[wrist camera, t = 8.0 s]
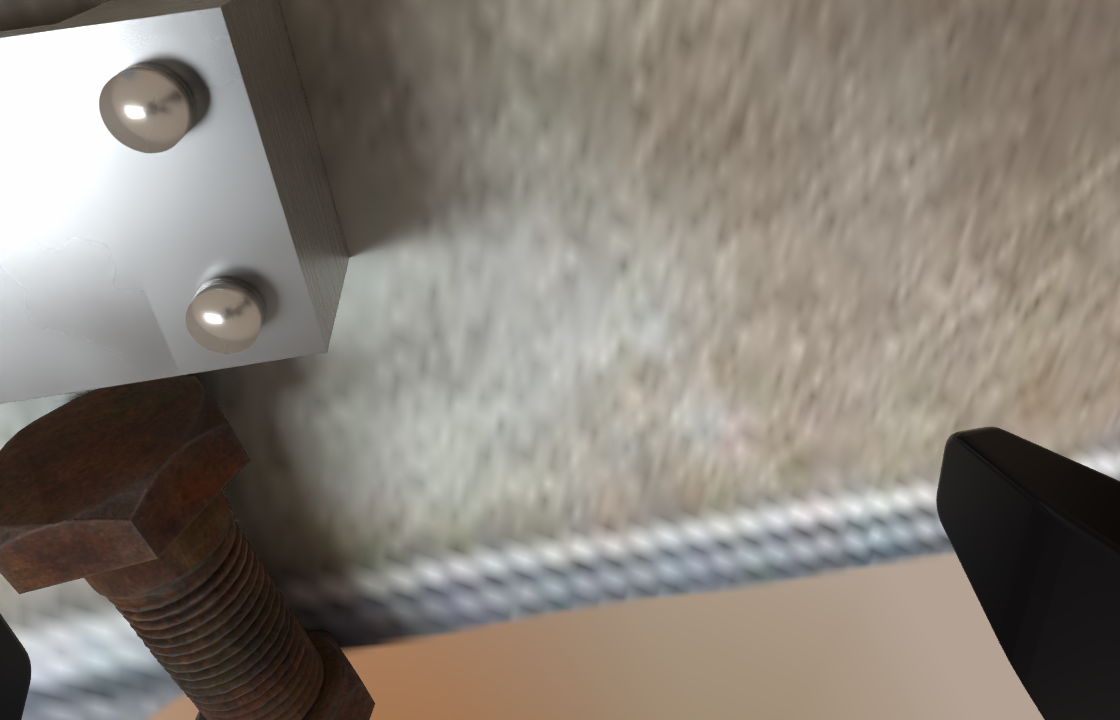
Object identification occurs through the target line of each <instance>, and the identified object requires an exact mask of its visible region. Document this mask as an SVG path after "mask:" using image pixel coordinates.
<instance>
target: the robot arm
mask: <svg viewBox="0 0 1120 720" xmlns="http://www.w3.org/2000/svg"><path fill="white" fill-rule="evenodd" d="M936 502H937V511H938V515H939V518H940V521H941V523H942V526H943V528H944V530H945V532H946V534H947V536H948V538H949V540H950V542H951V544H952V546H953V548H954V550H955V552H956V554H957V556H958V558H959V561H960V563H961V565H962V567H963V569H964V571H965V573H966V575H967V577H968V579H969V581H970V583H971V585H972V587H973V589H974V591H975V593H976V596H977V597H978V600H979V602H980V604H981V606H982V608H983V610H984V612H985V614H986V616H987V618H988V620H989V622H990V624H991V626H992V628H993V630H994V632H995V635H996V637H997V639H998V641H999V643H1000V645H1001V646H1002V648H1003V650H1004V652H1005V654H1006V656H1007V658H1008V660H1009V662H1010V663H1011V665H1012V667H1013V669H1014V670H1015V672H1016V674H1017V676H1018V677H1019V679H1020V680H1021V682H1022V684H1023V686H1024V687H1025V689H1026V690H1027V692H1028V694H1029V695H1030V697H1031V699H1032V700H1033V702H1034V703H1035V705H1036V706H1037V708H1038V710H1039V711H1040V713H1041V715H1042V716H1043V718H1044V719H1045V720H1120V481H1118V480H1116V479H1114V478H1112V477H1109V476H1107V475H1105V474H1102V473H1100V472H1098V471H1096V470H1093V469H1091V468H1089V467H1087V466H1084V465H1082V464H1080V463H1077V462H1075V461H1073V460H1071V459H1068V458H1066V457H1064V456H1062V455H1059V454H1057V453H1055V452H1053V451H1050V450H1048V449H1046V448H1043V447H1041V446H1039V445H1037V444H1034V443H1032V442H1030V441H1028V440H1025V439H1023V438H1021V437H1019V436H1016V435H1014V434H1012V433H1009V432H1007V431H1005V430H1002V429H1000V428H997V427H983V428H977V429H971V430H966V431H960V432H956V433H954V434H952V435H951V436H950V437H949V438H948V440H947V442H946V445H945V449H944V455H943V461H942V467H941V473H940V479H939V485H938V490H937V499H936ZM30 680H31V664H30V659H29V656H28V654H27V652H26V650H25V648H24V647H23V646H22V644H21V643H20V641H19V640H18V638H17V637H16V635H15V634H14V633H13V631H12V630H11V628H10V627H9V625H8V624H7V622H6V621H5V620H4V618H3V617H2V615H1V614H0V720H21V719H22V714H23V710H24V706H25V702H26V698H27V694H28V690H29V685H30Z"/></svg>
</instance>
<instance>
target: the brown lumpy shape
mask: <svg viewBox="0 0 1120 720" xmlns="http://www.w3.org/2000/svg"><path fill="white" fill-rule="evenodd" d="M249 460H250V459H249V457H248V455H247V453H246V452H245V450H244V448H243V447H242V445H241V443H240V442H239V440H238V438H237V436H236V435H235V433H234V431H233V430H232V428H231V426H230V425H229V423H228V421H227V420H226V418H225V417H224V415H223V414H222V412H221V411H220V409H219V408H218V406H217V405H216V403H215V402H214V400H213V399H212V398H211V396H210V395H209V394H208V392H207V391H206V390H205V388H204V387H203V386H202V384H201V383H200V382H199V380H198V379H197V378H196V377H195V376H192V375H180V376H174V377H168V378H161V379H155V380H149V381H142V382H136V383H130V384H123V385H117V386H111V387H104V388H98V389H96V390H94V391H92V392H89V393H87V394H85V395H83V396H80V397H78V398H76V399H74V400H72V401H70V402H68V403H66V404H64V405H63V406H61V407H59V408H57V409H55V410H53V411H52V412H50V413H48V414H46V415H44V416H42V417H41V418H39V419H37V420H35V421H34V422H32V423H31V424H29V425H28V426H26V427H25V428H23V429H22V430H20V431H19V432H18V433H17V434H15V435H14V436H13V437H12V438H11V439H10V440H9V441H8V442H7V443H6V444H5V446H4V447H3V448H2V449H1V450H0V573H1V574H2V575H3V576H4V578H5V579H6V580H7V581H8V582H9V583H10V584H11V585H12V587H13V588H14V589H15V590H16V591H17V592H18V593H19V594H21V593H25V592H29V591H33V590H37V589H41V588H45V587H49V586H53V585H57V584H60V583H64V582H68V581H72V580H76V579H80V578H85V579H86V581H87V582H88V583H89V584H90V585H91V587H92V588H93V589H94V590H95V591H96V592H98V593H99V594H100V595H103V596H105V597H107V598H108V600H109V601H110V602H112V603H113V604H114V605H115V606H116V608H117V610H118V611H119V612H120V613H121V614H122V615H123V617H124V618H125V619H126V620H127V621H128V622H129V623H130V626H131V627H132V628H133V629H134V630H135V631H136V633H137V635H138V636H139V637H140V638H141V639H142V640H143V642H144V644H145V646H146V647H148V648H149V649H150V652H151V653H152V654H153V656H154V657H155V658H156V659H157V661H158V662H159V663H160V664H161V665H162V666H163V667H164V669H165V670H166V671H167V672H168V673H169V674H170V675H171V677H172V679H173V680H174V681H175V682H176V683H177V685H178V686H179V687H180V688H181V689H182V690H183V691H184V692H185V694H186V695H187V697H189V698H190V699H191V701H192V702H193V703H194V704H195V705H196V707H197V708H198V710H199V713H198V715H197V717H196V720H369V719H370V716H371V714H372V711H373V708H374V705H375V703H374V701H373V699H372V698H371V696H370V694H369V692H368V691H367V689H366V687H365V686H364V684H363V682H362V681H361V679H360V678H359V676H358V674H357V673H356V671H355V670H354V668H353V667H352V665H351V664H350V662H349V661H348V659H347V658H346V656H345V655H344V653H343V652H342V650H341V649H340V647H339V646H338V644H337V643H336V642H335V640H334V639H333V637H332V636H331V635H330V633H329V632H322V631H305V630H304V629H303V628H302V626H301V625H300V624H299V623H298V620H297V618H296V617H295V616H294V615H293V614H292V613H291V610H290V608H289V606H288V605H287V604H286V602H285V600H284V598H283V596H282V594H281V593H280V592H279V589H278V587H277V586H276V585H275V584H274V582H273V580H272V578H271V576H270V575H269V574H268V572H267V570H266V568H265V567H264V566H263V564H262V562H261V561H260V560H259V558H258V557H257V555H256V552H255V551H254V549H253V548H252V547H251V545H250V543H249V542H248V541H247V540H246V539H245V536H244V534H243V532H242V530H241V529H240V528H239V525H238V524H237V522H236V521H235V520H234V518H233V516H232V514H231V508H230V505H229V503H228V500H227V499H226V497H225V496H224V494H223V492H222V491H221V490H222V489H223V488H224V487H225V486H226V485H227V484H228V483H229V482H230V481H231V480H232V479H233V478H234V476H235V475H236V474H237V473H238V472H239V471H240V470H241V469H242V468H243V467H244V466H245V465H246V464H247V462H248V461H249Z"/></svg>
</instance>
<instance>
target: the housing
mask: <svg viewBox="0 0 1120 720" xmlns="http://www.w3.org/2000/svg"><path fill="white" fill-rule="evenodd" d="M348 261H349V256H348V253H347V249H346V245H345V242H344V238H343V234H342V231H341V227H340V223H339V220H338V216H337V212H336V209H335V205H334V201H333V198H332V194H331V190H330V187H329V183H328V179H327V176H326V172H325V168H324V165H323V161H322V157H321V154H320V150H319V146H318V143H317V139H316V135H315V132H314V128H313V124H312V121H311V117H310V113H309V110H308V106H307V102H306V99H305V95H304V91H303V88H302V84H301V80H300V77H299V73H298V69H297V66H296V62H295V58H294V55H293V51H292V47H291V44H290V40H289V36H288V33H287V29H286V25H285V22H284V18H283V14H282V11H281V7H280V3H279V0H110V1H107V2H105V3H103V4H100V5H98V6H96V7H94V8H91V9H89V10H87V11H84V12H82V13H80V14H78V15H75V16H73V17H71V18H68V19H66V20H64V21H62V22H59V23H57V24H51V25H44V26H37V27H30V28H22V29H15V30H8V31H1V32H0V404H3V403H9V402H16V401H22V400H28V399H35V398H41V397H47V396H54V395H60V394H66V393H73V392H79V391H85V390H92V389H98V388H104V387H111V386H117V385H123V384H130V383H136V382H142V381H149V380H155V379H161V378H168V377H174V376H180V375H187V374H193V373H199V372H206V371H212V370H218V369H225V368H231V367H237V366H244V365H250V364H256V363H263V362H269V361H275V360H282V359H288V358H294V357H301V356H307V355H313V354H320V353H326V352H327V351H328V347H329V342H330V338H331V334H332V329H333V325H334V321H335V317H336V312H337V308H338V304H339V300H340V295H341V291H342V287H343V283H344V278H345V274H346V270H347V266H348Z"/></svg>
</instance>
